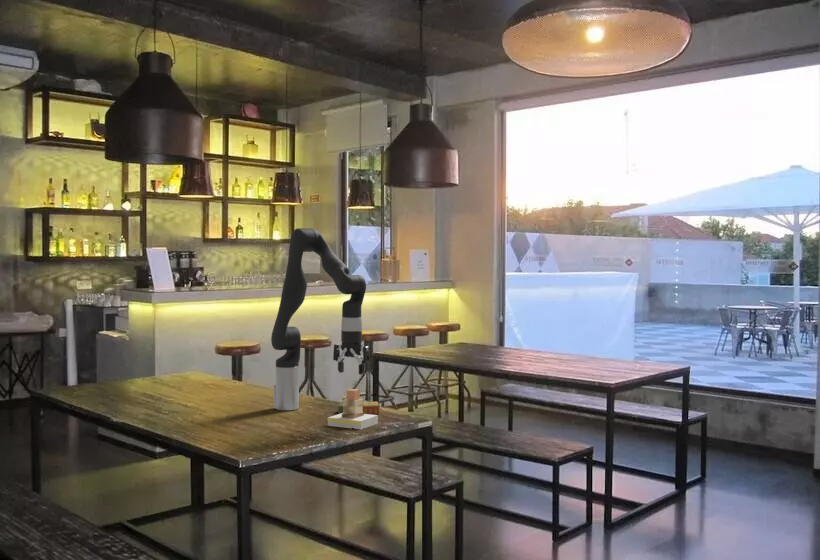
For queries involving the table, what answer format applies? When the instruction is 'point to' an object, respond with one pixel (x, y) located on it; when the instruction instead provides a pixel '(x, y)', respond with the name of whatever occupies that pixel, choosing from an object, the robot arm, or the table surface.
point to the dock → (353, 421)
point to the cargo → (353, 394)
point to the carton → (364, 408)
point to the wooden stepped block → (352, 408)
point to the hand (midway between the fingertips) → (351, 373)
